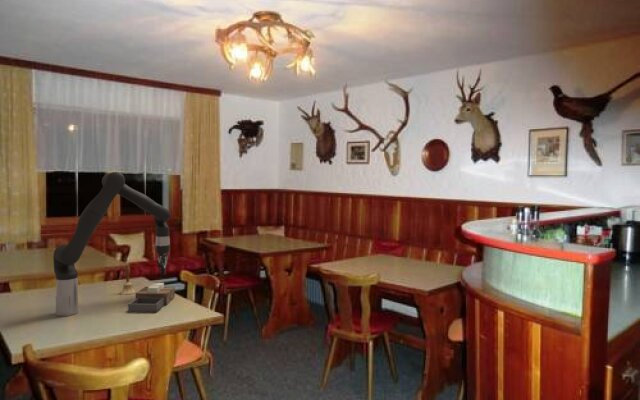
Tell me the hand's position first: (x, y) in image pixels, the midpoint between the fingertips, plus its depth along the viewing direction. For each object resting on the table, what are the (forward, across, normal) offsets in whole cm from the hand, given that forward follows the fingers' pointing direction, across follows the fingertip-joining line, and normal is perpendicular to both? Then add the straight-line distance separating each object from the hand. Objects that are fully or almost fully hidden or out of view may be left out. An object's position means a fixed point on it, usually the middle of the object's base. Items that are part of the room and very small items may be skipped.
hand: (163, 274), depth 255 cm
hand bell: (+12, -4, -21) cm, 24 cm away
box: (+11, +25, 0) cm, 28 cm away
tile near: (+6, +15, 0) cm, 16 cm away
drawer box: (+12, +12, 0) cm, 17 cm away
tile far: (+6, +9, 0) cm, 10 cm away
